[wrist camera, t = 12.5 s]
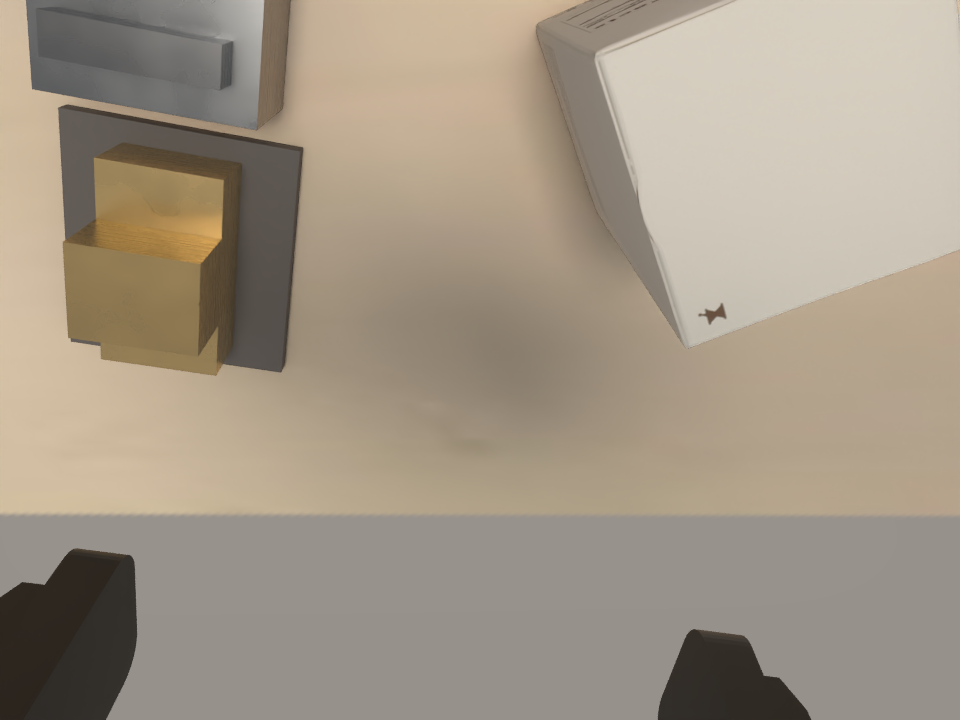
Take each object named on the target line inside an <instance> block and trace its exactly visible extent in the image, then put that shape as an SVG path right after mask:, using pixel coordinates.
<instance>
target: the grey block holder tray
mask: <svg viewBox="0 0 960 720" xmlns="http://www.w3.org/2000/svg"><path fill="white" fill-rule="evenodd" d="M26 6H27V21H28V36H29V50H30V65H31V80H32V89H35V90H40V91H46V92H51V93H57V94H62V95H67V96H73V97H78V98H84V99H89V100H95V101H100V102H106V103H111V104H117V105H122V106H127V107H133V108H138V109H144V110H149V111H155V112H160V113H166V114H171V115H176V116H182V117H187V118H193V119H198V120H204V121H209V122H215V123H220V124H226V125H231V126H236V127H242V128H247V129H253V130H258V129H259V128H260V127H261V126H262V125H264V124H265V123H266V122H267V121H268V120H270V119H271V118H272V117H273V116H274V115H276V114H277V113H278V112H279V111H280V110H282V109H283V96H284V82H285V68H286V55H287V41H288V27H289V13H290V0H26Z"/></svg>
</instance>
